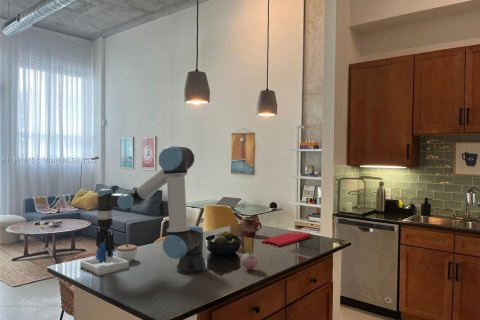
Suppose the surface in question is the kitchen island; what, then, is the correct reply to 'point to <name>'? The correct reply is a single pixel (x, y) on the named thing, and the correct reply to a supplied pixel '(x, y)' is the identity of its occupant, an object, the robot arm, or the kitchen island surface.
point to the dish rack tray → (104, 265)
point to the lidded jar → (127, 252)
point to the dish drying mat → (286, 238)
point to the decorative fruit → (249, 260)
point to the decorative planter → (249, 226)
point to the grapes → (103, 253)
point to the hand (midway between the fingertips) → (104, 261)
